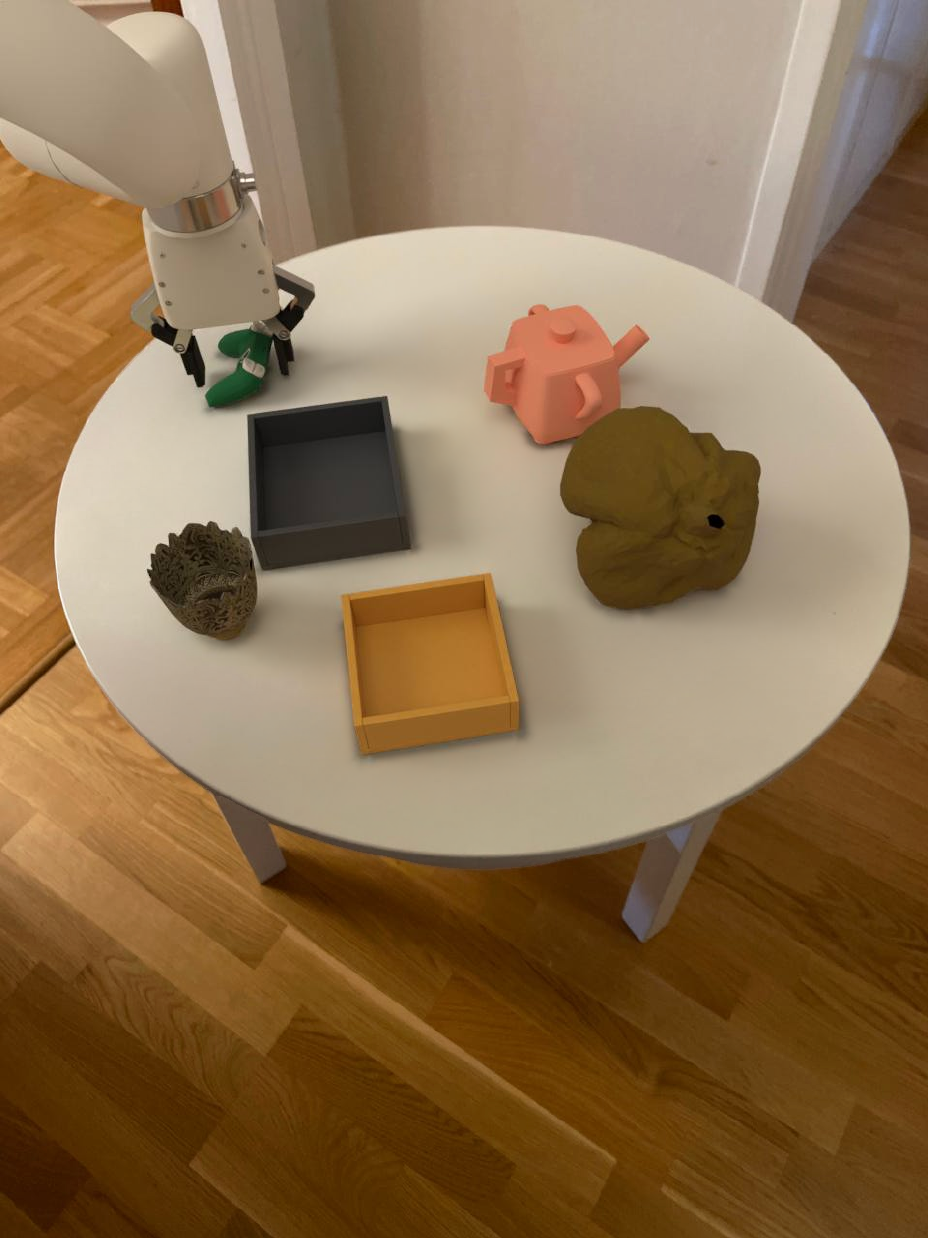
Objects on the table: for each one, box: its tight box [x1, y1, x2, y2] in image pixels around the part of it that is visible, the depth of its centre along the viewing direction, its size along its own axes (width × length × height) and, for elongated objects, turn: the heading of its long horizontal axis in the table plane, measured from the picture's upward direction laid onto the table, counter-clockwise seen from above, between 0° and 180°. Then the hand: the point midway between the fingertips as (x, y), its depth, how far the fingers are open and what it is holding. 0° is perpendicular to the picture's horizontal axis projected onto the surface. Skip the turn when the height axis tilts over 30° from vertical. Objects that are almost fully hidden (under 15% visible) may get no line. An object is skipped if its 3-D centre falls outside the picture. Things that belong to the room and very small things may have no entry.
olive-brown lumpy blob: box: [559, 405, 762, 611], centre depth 69 cm, size 14×14×14 cm
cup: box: [146, 520, 258, 641], centre depth 69 cm, size 8×7×8 cm
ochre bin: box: [340, 572, 520, 755], centre depth 67 cm, size 11×11×4 cm
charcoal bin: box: [246, 395, 412, 571], centre depth 78 cm, size 12×14×4 cm
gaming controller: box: [204, 321, 274, 408], centre depth 88 cm, size 9×4×6 cm
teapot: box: [483, 303, 651, 445], centre depth 81 cm, size 12×12×10 cm
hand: (243, 371), depth 88 cm, fingers open, 7 cm apart
